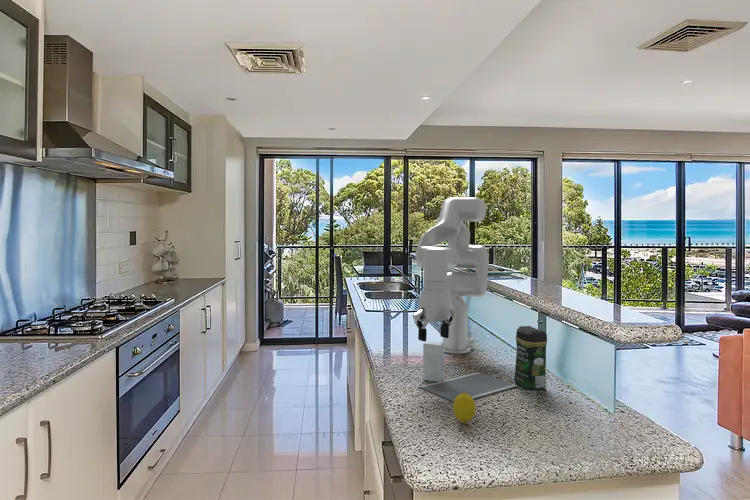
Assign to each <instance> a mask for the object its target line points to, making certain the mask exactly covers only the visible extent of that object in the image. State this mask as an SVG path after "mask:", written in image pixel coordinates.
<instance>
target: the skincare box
mask: <svg viewBox="0 0 750 500" xmlns="http://www.w3.org/2000/svg"><path fill="white" fill-rule="evenodd" d="M422 347H423V349H422V350H423V353H422V355H423V356H422V359H423V360H422V362H423V363H422V380H423V381H430V382H436V383H437V382H441V381H443V379H444V355H445V352H444V343H443V341H441V342H440V341H438V342H437V341H431V340H430V341H429V340H426V341H424V343H423V345H422Z"/></svg>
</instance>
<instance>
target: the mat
mask: <svg viewBox="0 0 750 500" xmlns="http://www.w3.org/2000/svg"><path fill="white" fill-rule="evenodd" d="M517 387H518V386H517V385H516V384H513V383H509V382H506V381H504V380H500V379H498V378H495V377H492V376H489V375H486V374H484V373H481V372H474V373H470V374H466V375H461V376H457V377H454V378H453V377H452V378H450V379H446V380H442V381H441V382H437V381H436V382H435V383H434V382H433V383H428V384H424V385H421V386H419V389H421V390H424V391H426V392H428V393H431V394H433V395H435V396H438V397H439V398H441V399H442V398H443V399H444V400H447V401H449V402H452V403H453V404H454V401H455V398H456V397H457V396H458V395H460V394H462V393H464V392H465V393H467V394H468V395H470V396H471V397H472V398H473V400H474V401H475V400H478V399H481V398H484V397H488V396H491V395H494V394H498V393H502V392H506V391H508V390H511V389H512V390H513V389H514V388H517Z"/></svg>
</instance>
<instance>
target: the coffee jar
mask: <svg viewBox="0 0 750 500" xmlns="http://www.w3.org/2000/svg"><path fill="white" fill-rule="evenodd" d="M515 341H516V343H515V344H516V354H515V355H516V356H515V366H514V367H515V368H514V379H513V380H514V382H515V383H516V384H517V385H519V386H521V387H523V388H525V389H527V390H529V389H530V390H534V391H535V390H536V389H537V390H541V389H543V388H545V387H546V348H547V345H548V335H547V332H545V331H544V330H541V329H538V328H536V327H533V326H531V325H523V326H521V325H520V326H519V327H518V328H517V329H516V335H515ZM537 390H536V391H537Z"/></svg>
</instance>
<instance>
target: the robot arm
mask: <svg viewBox="0 0 750 500" xmlns="http://www.w3.org/2000/svg"><path fill="white" fill-rule="evenodd" d="M486 214H487V206H486V203H485V201H484V200H483V199H481V198H478V197H471V196H470V197H468V196H463V197H462V196H461V197H458V196H455V197H449V198H446V199H445V200H444V201H443V203H442V204H441V207H440V212H439V216H438V220H437V223H436V224H435V225H433V226H432V227H431V228H429V229H428V230H427V231H426V232H424V233H423V234H422V235H421V237H420V238H419V241H418V245H417V247H416V252H415V263H416V265H417V266H418V267H419V268H422V269H423V289H422V290H421V291H420V295H419V301H418V308H417V311H416V312H415V313H413V315H412V319H413V322H414V324H415V325H416V327H417V328H418V332H417V333H418V334H417V335H418V337H417V338H418V341H421V342H426V341H427V328H426V327H427V326H428V324H429V323H436V322H437V323H438V322H440V323H441V324H440V334H439V335H440V337H441V338H442V342H443V343H444V353H445V354H455V355H461V354H469V353H470V352H471V351H472V349H471V347H470V346H469V345H470V344H474V343H475V341H476V340H475V339H474V338H468V317H469V316H468V313H469V307H468V304H467V303H466V301H465V299H464V298H463V297H473V298H475V297H476V298H482V297H484V296H485V295H486V293H487V290H488V289H487V288H488V274H489V273H488V272H489V270H488V269H489V267H488V266H489V253H488V249H487V248H486V247H485V246H484V245H478V244H477V245H476V244H475V245H474V244H471V243H470V239H471V232H470V230H469V227H467V226H466V224H465V223H464V222H470V223H471V222H472V223H473V222H475V223H478V222H479V223H480V222H482V221H484V219H485V218H486V216H487V215H486ZM445 242H447V246H436V245H437V244H441V243H445ZM453 269H467V270H475V272H472V271H471V272H469V271H467V272H466V271H454V270H453ZM448 270H453V271H448Z"/></svg>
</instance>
